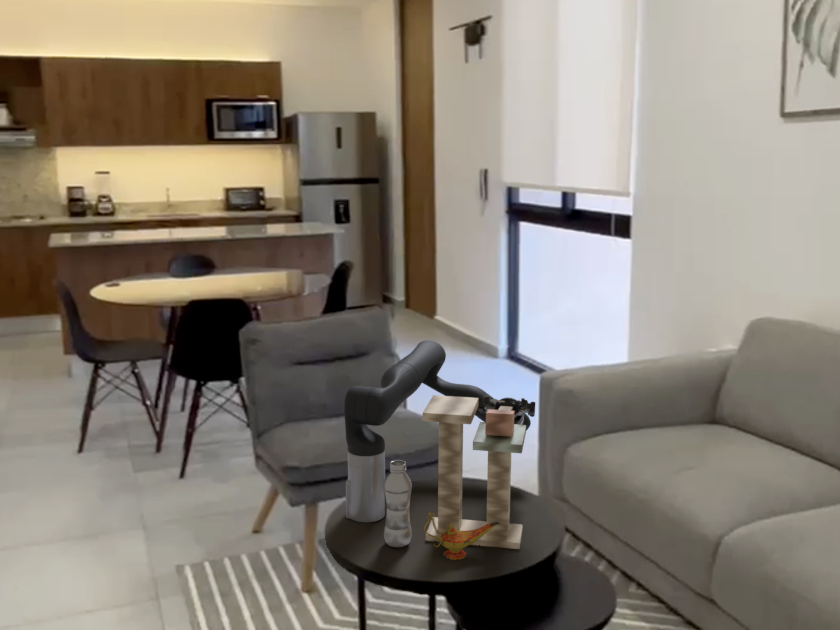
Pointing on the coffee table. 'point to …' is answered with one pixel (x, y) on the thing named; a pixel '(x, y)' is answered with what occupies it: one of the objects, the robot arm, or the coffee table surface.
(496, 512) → the stepped stand
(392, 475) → the plastic bottle
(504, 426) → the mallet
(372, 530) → the coffee table surface
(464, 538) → the magic lamp
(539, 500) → the coffee table surface
